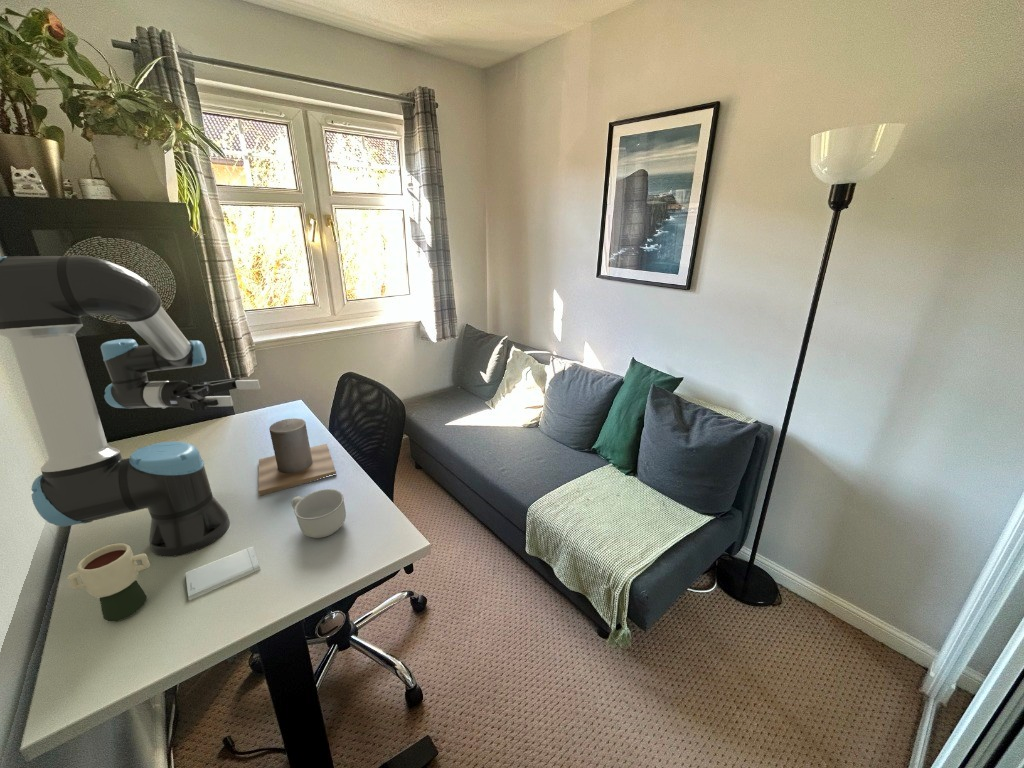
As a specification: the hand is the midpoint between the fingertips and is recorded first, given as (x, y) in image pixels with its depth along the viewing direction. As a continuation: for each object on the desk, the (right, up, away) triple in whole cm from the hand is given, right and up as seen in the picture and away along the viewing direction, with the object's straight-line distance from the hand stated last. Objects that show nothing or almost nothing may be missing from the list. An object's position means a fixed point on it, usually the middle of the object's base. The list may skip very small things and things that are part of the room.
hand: (246, 392), depth 117 cm
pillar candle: (+10, -23, +8) cm, 26 cm away
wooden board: (+10, -24, +9) cm, 27 cm away
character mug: (+2, -41, -39) cm, 57 cm away
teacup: (+29, -33, -16) cm, 47 cm away
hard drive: (+15, -39, -30) cm, 51 cm away
